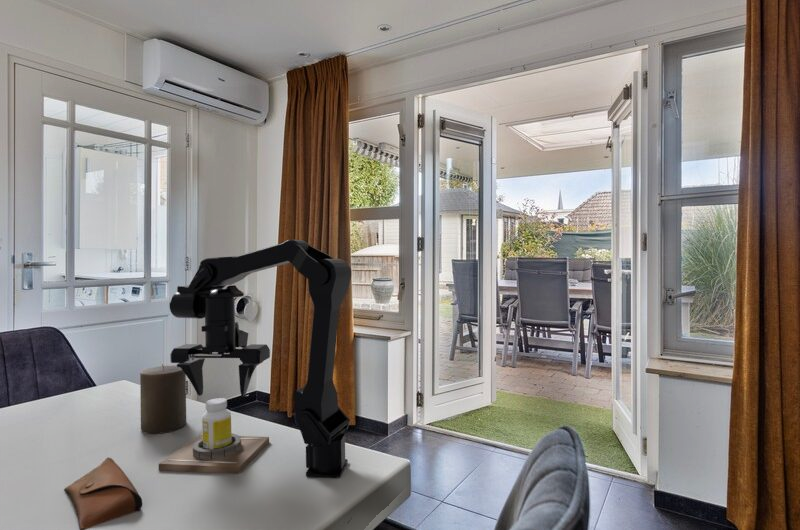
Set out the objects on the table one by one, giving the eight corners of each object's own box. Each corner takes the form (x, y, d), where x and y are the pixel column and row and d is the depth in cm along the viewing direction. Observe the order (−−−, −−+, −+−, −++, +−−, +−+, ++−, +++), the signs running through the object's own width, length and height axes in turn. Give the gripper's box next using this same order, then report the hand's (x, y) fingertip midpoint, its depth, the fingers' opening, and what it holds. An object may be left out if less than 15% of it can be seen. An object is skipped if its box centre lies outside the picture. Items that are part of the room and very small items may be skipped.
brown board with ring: (269, 442, 98) (268, 430, 98) (238, 473, 84) (238, 459, 84) (199, 439, 100) (199, 427, 100) (158, 469, 86) (158, 455, 86)
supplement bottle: (236, 443, 95) (235, 396, 94) (223, 455, 89) (222, 405, 89) (211, 443, 95) (210, 396, 95) (197, 454, 90) (196, 405, 90)
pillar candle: (173, 434, 104) (172, 368, 103) (131, 434, 104) (130, 368, 104) (194, 419, 113) (193, 359, 113) (155, 419, 113) (154, 359, 113)
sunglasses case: (59, 488, 80) (81, 449, 82) (100, 495, 84) (120, 458, 86) (80, 532, 67) (105, 485, 69) (127, 537, 71) (150, 493, 73)
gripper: (278, 314, 100) (280, 384, 100) (198, 314, 102) (200, 383, 102) (257, 321, 89) (259, 401, 89) (167, 321, 91) (169, 399, 91)
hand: (221, 395), depth 93 cm, fingers open, 9 cm apart
